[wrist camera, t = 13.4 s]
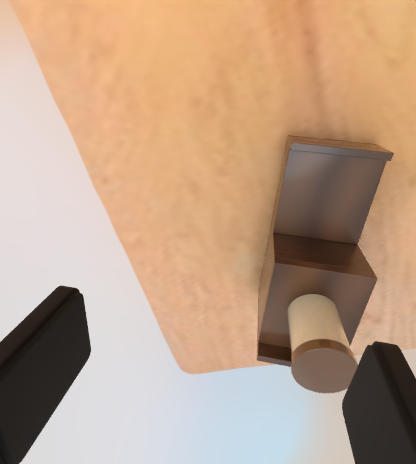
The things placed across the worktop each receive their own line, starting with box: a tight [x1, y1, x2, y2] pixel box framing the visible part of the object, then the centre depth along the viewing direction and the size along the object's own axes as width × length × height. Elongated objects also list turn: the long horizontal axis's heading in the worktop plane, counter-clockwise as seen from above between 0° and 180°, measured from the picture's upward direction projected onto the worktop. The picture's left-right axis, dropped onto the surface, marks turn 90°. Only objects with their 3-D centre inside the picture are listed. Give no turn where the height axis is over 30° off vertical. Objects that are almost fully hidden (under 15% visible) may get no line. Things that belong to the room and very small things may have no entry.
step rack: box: [257, 136, 393, 367], centre depth 34 cm, size 10×23×13 cm, turn 175°
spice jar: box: [287, 294, 358, 393], centre depth 29 cm, size 6×6×8 cm
